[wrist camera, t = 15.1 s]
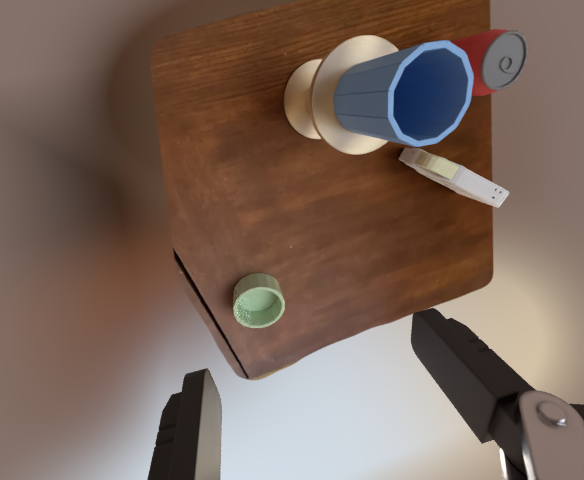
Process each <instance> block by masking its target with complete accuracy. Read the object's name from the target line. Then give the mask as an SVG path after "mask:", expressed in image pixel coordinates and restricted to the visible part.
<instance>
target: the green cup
mask: <svg viewBox="0 0 584 480" xmlns="http://www.w3.org/2000/svg"><path fill="white" fill-rule="evenodd" d="M284 309H285V301H284V297H283V294H282V290H281V288H280V285H279V283H278V281H277V280H276V279H275V278H274V277H272V276H271V275H268V274H265V273H253V274H249V275H247V276H245V277H243V278H242V279H241V280H240V281H239V282H238V283H237V284H236V286H235V288H234V291H233V311H234V316H235V318H236V319H237V321H238V322H239V323H241V324H242V325H244V326H246V327H250V328H263V327H266V326H269V325H271V324H273V323H275V322H276V321H277V320H278V319H279V318H280V317H281V316H282V314H283V312H284Z"/></svg>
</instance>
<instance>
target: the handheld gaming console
mask: <svg viewBox="0 0 584 480" xmlns="http://www.w3.org/2000/svg"><path fill="white" fill-rule="evenodd" d="M399 160H400V161H402V162H404V163H405V164H406V165H408V166H410V167H412V168H414V169H415V170H416V171H417V172H419V173H420V174H422V175H424V176H426V177H428V178H430V179H432V180H434V181H436V182H438V183H440V184H442V185H444V186H446V187H448V188H450V189H452V190H454V191H456V193H458V194H461V195H464V196H467V197H469V198H472V199H475V200H478V201H480V202H483V203H486V204H488V205H491V206H494V207H500V205H501V204H502V203H503V201H504V200H505V199H506V197H507V196H508V195H509V192H508V191H507V190H505V189H503V188H501V187H500V186H498V185H496V184H494V183H492V182H490V181H488V180H487V179H485V178H483V177H481V176H479V175H477V174H475V173H474V172H472V171H470V170H468V169H466V168H465V167H464V166H462V165H459V164H456V163H454V162H451V161H448V160H446V159H445V158H442V157H439V156H436V155H433V154H430V153H428V152H426V151H424V150H421V149H418V148H412V149H410V148H404V150H403V152H402V153H401V155H400V157H399Z"/></svg>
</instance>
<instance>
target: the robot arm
mask: <svg viewBox="0 0 584 480" xmlns="http://www.w3.org/2000/svg"><path fill="white" fill-rule="evenodd" d="M411 344H412V347H413V350H414V352H415V354H416V355H417V357H418V358H419V360H420V361H421V362H422V364H423V365H424V366H425V368H426V369H427V370H428V372H429V373H430V374H431V376H432V377H433V379H434V380H435V381H436V383H437V384H438V385H439V387H440V388H441V389H442V391H443V392H444V393H445V395H446V396H447V397H448V399H449V400H450V401H451V403H452V404H453V405H454V407H455V408H456V409H457V411H458V412H459V413H460V415H461V416H462V417H463V419H464V420H465V422H466V423H467V424H468V426H469V427H470V428H471V430H472V431H473V432H474V434H475V435H476V436H477V438H478V439H479V440H480V442H481V443H485V442H488V441H491V440H495V442H496V443H497V444H498V445H499V447H500V458H501V465H502V473H503V479H504V480H584V405H580V404H568V403H567V402H565V401H564V400H562V399H560V398H558V397H556V396H554V395H552V394H550V393H546V392H542V391H537V390H535V389H534V388H533V387H531V386H530V385H529V384H528V383H527V382H526V381H525V380H524V379H522V377H520V376H519V375H518V374H517V373H516V372H515V371H514V370H513V369H512V368H511V367H510V366H509V365H508V364H506V362H504V361H503V360H502V359H501V358H500V357H499V356H498V355H497V354H496V353H495V352H494V351H493V350H492V349H489V348H488V346H487V345H486V344H485V343H484V342H483V341H482V340H481V339H479V338H478V336H476V335H475V333H473V332H472V331H471V330H470V329H469V328H468V327H467V326H465V325H463V324H462V323H460V322H458V321H456V320H454V319H453V318H450V319H446V318H445V317H444V316H443V315H442V314H441V313H440V312H439V311H438V310H436V309H434V308H431V309H427V310H423V311H419V312H416V313H414V314H413V319H412V333H411ZM221 424H222V406H221V399H220V395H219V392H218V390H217V387H216V385H215V383H214V381H213V378H212V376H211V374H210V371H209V370H208V369H203V370H199V371H195V372H192V373H188V374H186V375H185V377H184V381H183V387H182V392H180V393H176V394H173V395H171V397H170V399H169V401H168V402H167V404H166V406H165V408H164V409H163V411H162V416H161V420H160V426H159V432H158V434H157V439H156V447H155V448H154V452H153V457H152V462H151V466H150V471H149V475H148V480H220V464H221V463H220V462H221Z"/></svg>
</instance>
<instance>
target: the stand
mask: <svg viewBox="0 0 584 480" xmlns="http://www.w3.org/2000/svg"><path fill="white" fill-rule="evenodd" d="M397 51H399V50H398V49H397V48H396V47H395V46H394V45H393V44H392V43H390V42H389V41H387V40H385V39H383V38H381V37H377V36H372V35H361V36H357V37H353V38H351V39H348V40H346V41H344V42H342V43H341V44H339V45H337V46H336V47H335V48H333V49H332V50H331V51H330V52H329V53H328V54H327V55H326V56H325V57H324V58H323V59H315V60H311V61H308V62H306V63H304V64H303V65H301V66H300V67H298V68H297V69H296V70H295V71H294V72H293V74H292V75H291V77H290V78H289V80H288V82H287V85H286V88H285V91H284V110H285V114H286V117H287V119H288V121H289V123H290V124H291V126H292V127H293V128H294V129H295V130H296V131H297V132H298V133H300V134H301V135H303V136H305V137H308V138H312V139H322V140H323V141H324V142H325V143H326V144H328V145H329V146H330V147H332V148H334V149H336V150H338V151H341V152H344V153H347V154H365V153H368V152H371V151H374V150H376V149H378V148H380V147H381V146H383V145H384V144H385V143H387V142H388V140H383V139H379V138H374V137H370V136H366V135H361V134H357V133H354V132H352V131H350V130H347V129H345V128H344V127H342V125H341V123H340V122H339V120H338V119H337V117H336V115H335V113H334V99H333V96H334V92H335V90H336V87H337V85H338V82H339V79H340V78H341V76H342V75H344V74H345V73H346V72H347V71H348V70H349V69H350V68H351V67H352V66H354V65H356V64H359V63H362V62H366V61H369V60H372V59H375V58H378V57H381V56H385V55H388V54H391V53H394V52H397Z"/></svg>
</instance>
